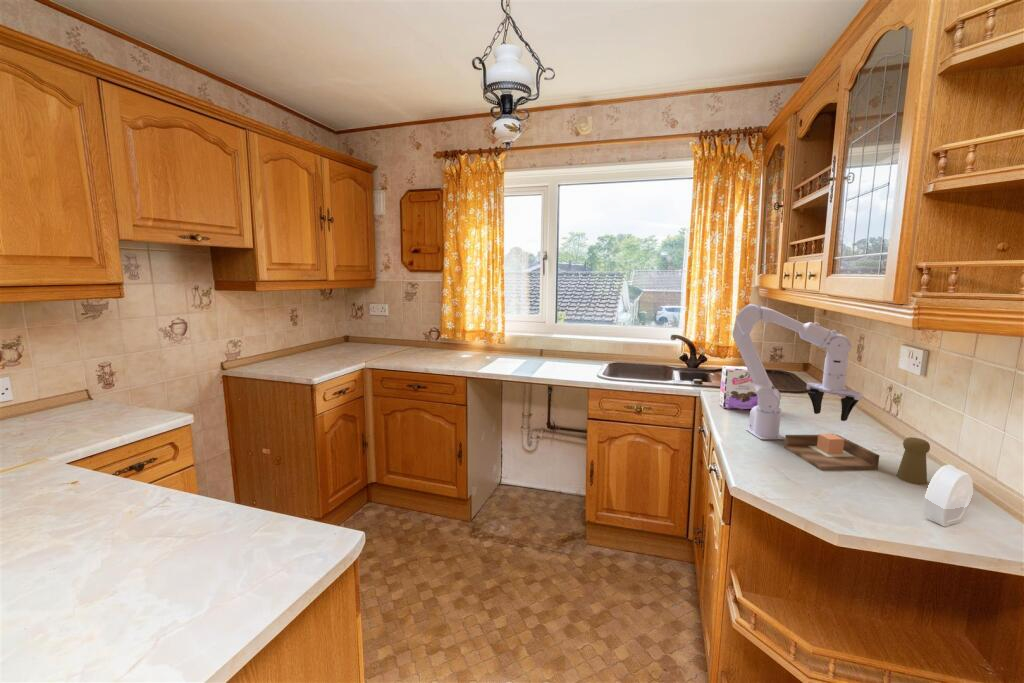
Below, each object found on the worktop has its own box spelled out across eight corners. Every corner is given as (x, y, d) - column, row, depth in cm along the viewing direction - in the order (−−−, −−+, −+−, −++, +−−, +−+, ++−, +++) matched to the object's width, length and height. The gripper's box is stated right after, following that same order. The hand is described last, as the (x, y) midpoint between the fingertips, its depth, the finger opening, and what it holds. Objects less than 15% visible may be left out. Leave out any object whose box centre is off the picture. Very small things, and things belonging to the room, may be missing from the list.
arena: (784, 447, 139) (785, 434, 139) (835, 446, 139) (837, 434, 139) (820, 469, 123) (821, 455, 123) (877, 469, 124) (879, 455, 123)
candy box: (723, 409, 178) (725, 368, 176) (718, 404, 184) (721, 365, 181) (760, 410, 176) (764, 369, 173) (755, 406, 182) (758, 366, 179)
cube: (816, 448, 135) (818, 433, 135) (831, 447, 135) (832, 433, 135) (827, 454, 131) (829, 439, 130) (842, 453, 131) (844, 439, 130)
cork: (933, 485, 114) (939, 444, 112) (905, 483, 115) (911, 442, 114) (917, 475, 120) (922, 435, 118) (891, 473, 121) (896, 434, 120)
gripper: (802, 370, 141) (798, 412, 143) (854, 380, 129) (849, 425, 131) (815, 368, 144) (811, 409, 147) (867, 377, 132) (862, 422, 134)
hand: (830, 416), depth 139 cm, fingers open, 7 cm apart
